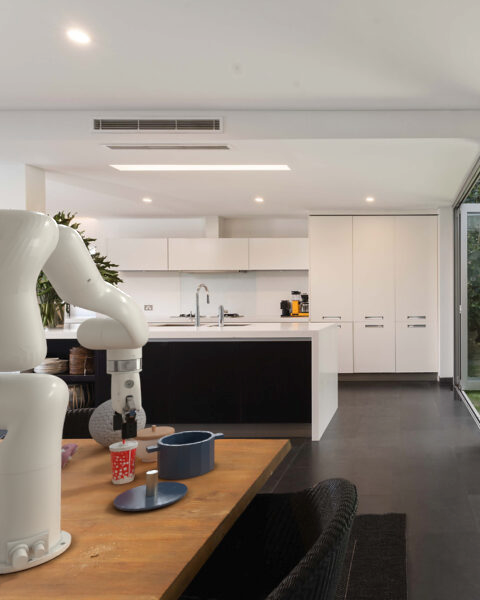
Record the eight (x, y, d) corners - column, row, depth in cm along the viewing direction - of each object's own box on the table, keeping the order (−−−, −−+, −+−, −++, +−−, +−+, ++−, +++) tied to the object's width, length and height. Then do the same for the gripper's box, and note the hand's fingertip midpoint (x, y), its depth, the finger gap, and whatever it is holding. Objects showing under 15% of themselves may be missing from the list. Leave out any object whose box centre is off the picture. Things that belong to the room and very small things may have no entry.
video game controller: (58, 478, 118) (73, 452, 119) (39, 472, 116) (54, 446, 117) (70, 465, 127) (84, 442, 128) (53, 460, 125) (67, 436, 127)
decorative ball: (139, 436, 150) (139, 391, 150) (151, 446, 139) (151, 398, 139) (85, 446, 140) (85, 397, 140) (92, 457, 129) (93, 405, 129)
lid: (196, 499, 101) (196, 472, 101) (121, 520, 91) (121, 490, 91) (176, 481, 112) (176, 456, 112) (107, 498, 102) (107, 471, 102)
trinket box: (182, 453, 133) (182, 421, 133) (158, 465, 122) (159, 431, 123) (148, 451, 134) (148, 420, 134) (122, 464, 124) (122, 430, 124)
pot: (232, 467, 121) (232, 436, 121) (154, 487, 108) (154, 451, 108) (213, 455, 131) (213, 426, 131) (139, 471, 118) (140, 439, 118)
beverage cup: (129, 474, 116) (129, 420, 116) (142, 478, 113) (143, 423, 113) (103, 482, 111) (104, 425, 111) (116, 487, 108) (117, 429, 108)
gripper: (150, 368, 109) (150, 438, 109) (133, 361, 121) (133, 423, 122) (114, 371, 104) (114, 445, 104) (100, 363, 116) (100, 429, 116)
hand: (124, 433), depth 113 cm, fingers open, 9 cm apart
